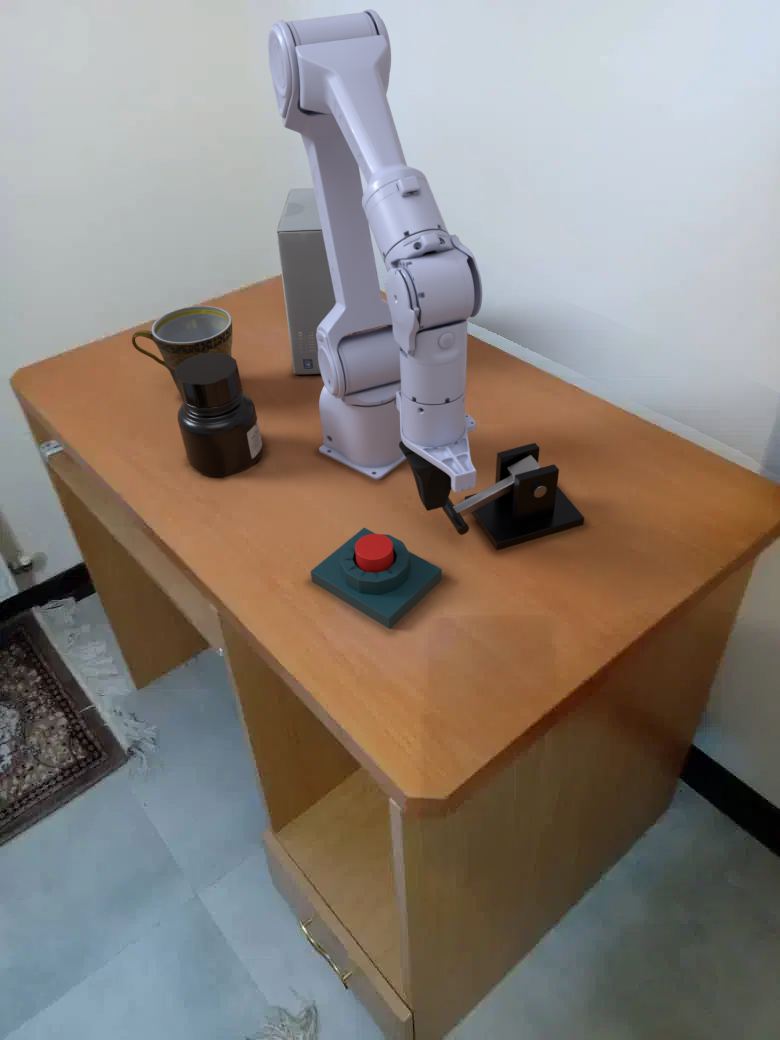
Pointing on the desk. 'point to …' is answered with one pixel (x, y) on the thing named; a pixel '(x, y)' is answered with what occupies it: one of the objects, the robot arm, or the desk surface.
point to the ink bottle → (216, 416)
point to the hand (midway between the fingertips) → (433, 504)
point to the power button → (374, 553)
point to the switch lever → (486, 495)
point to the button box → (377, 581)
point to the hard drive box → (304, 277)
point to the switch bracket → (526, 503)
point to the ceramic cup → (188, 335)
